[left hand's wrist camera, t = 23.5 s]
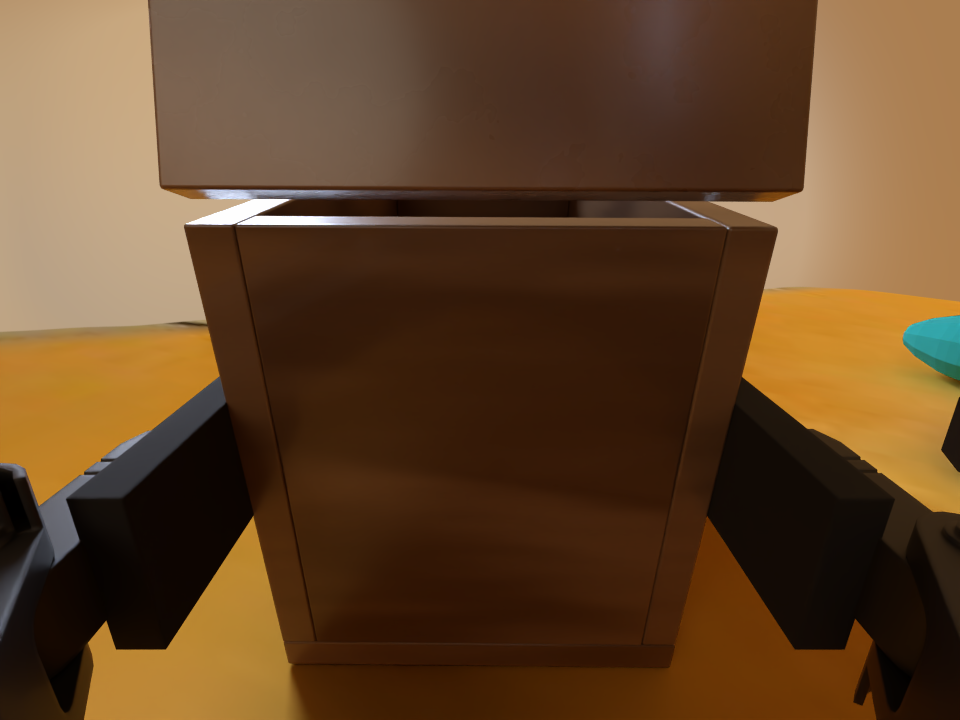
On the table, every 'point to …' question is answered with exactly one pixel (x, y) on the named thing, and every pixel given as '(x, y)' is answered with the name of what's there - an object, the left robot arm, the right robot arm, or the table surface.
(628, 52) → the lid
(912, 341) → the toy gun
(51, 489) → the table surface
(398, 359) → the chest
